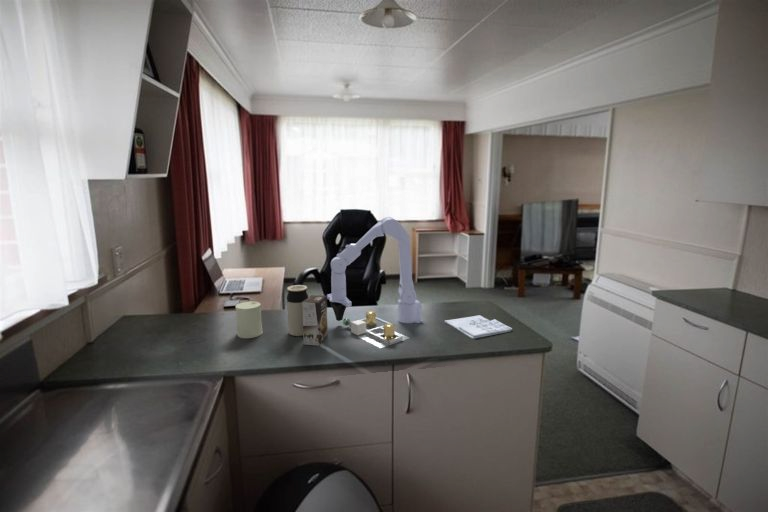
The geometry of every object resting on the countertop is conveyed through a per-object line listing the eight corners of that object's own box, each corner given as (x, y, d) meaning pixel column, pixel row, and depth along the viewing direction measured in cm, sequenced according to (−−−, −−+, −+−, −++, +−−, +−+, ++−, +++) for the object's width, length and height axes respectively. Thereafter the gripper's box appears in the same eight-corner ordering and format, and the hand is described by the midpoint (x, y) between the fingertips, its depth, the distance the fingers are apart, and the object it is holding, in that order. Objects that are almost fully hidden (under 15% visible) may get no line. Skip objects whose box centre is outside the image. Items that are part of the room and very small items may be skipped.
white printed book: (472, 340, 153) (473, 335, 153) (443, 323, 171) (443, 318, 171) (513, 332, 161) (513, 327, 160) (480, 316, 179) (481, 311, 178)
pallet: (386, 330, 161) (386, 324, 160) (409, 341, 151) (409, 334, 151) (357, 340, 152) (357, 333, 152) (380, 351, 142) (380, 344, 142)
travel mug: (313, 332, 160) (312, 287, 156) (296, 338, 154) (294, 291, 150) (301, 327, 165) (299, 283, 161) (284, 332, 159) (282, 287, 156)
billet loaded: (389, 336, 152) (389, 322, 151) (396, 340, 149) (397, 325, 148) (381, 339, 149) (381, 325, 148) (388, 343, 146) (388, 328, 145)
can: (267, 331, 161) (265, 301, 158) (250, 340, 152) (248, 309, 150) (249, 327, 164) (247, 298, 162) (232, 336, 156) (229, 305, 154)
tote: (373, 319, 174) (373, 315, 174) (392, 327, 165) (392, 323, 164) (349, 326, 166) (349, 322, 166) (368, 334, 157) (368, 331, 157)
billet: (371, 323, 168) (371, 310, 167) (378, 325, 165) (377, 312, 164) (363, 325, 166) (363, 312, 164) (370, 328, 163) (370, 314, 161)
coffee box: (320, 346, 147) (318, 302, 144) (303, 344, 148) (301, 301, 145) (328, 336, 156) (327, 295, 152) (312, 335, 157) (310, 294, 154)
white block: (359, 332, 159) (359, 319, 158) (366, 335, 156) (366, 322, 155) (351, 334, 157) (351, 321, 156) (357, 338, 154) (357, 324, 153)
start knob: (348, 324, 164) (348, 317, 163) (359, 329, 158) (359, 322, 158) (342, 325, 162) (342, 319, 161) (353, 331, 157) (353, 323, 156)
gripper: (320, 285, 166) (321, 317, 169) (340, 293, 155) (341, 327, 158) (335, 282, 171) (335, 313, 173) (355, 289, 160) (356, 323, 163)
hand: (339, 320), depth 166 cm, fingers closed
